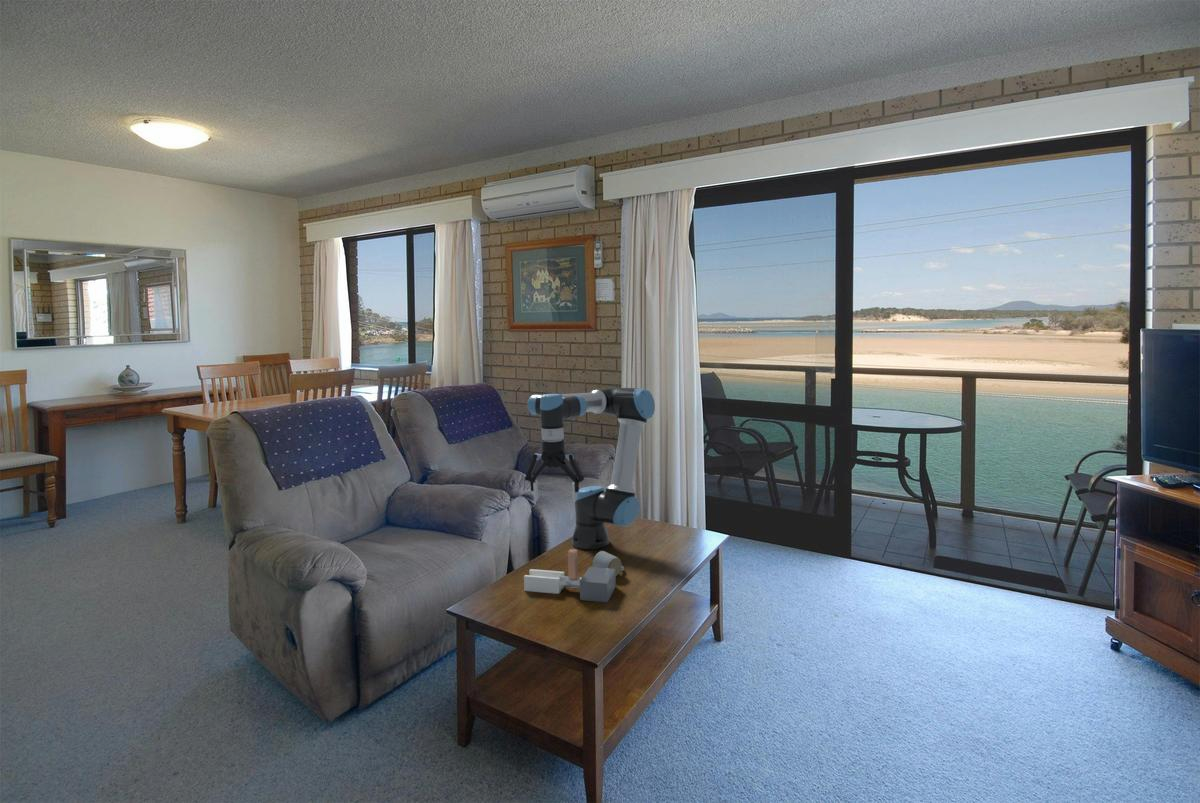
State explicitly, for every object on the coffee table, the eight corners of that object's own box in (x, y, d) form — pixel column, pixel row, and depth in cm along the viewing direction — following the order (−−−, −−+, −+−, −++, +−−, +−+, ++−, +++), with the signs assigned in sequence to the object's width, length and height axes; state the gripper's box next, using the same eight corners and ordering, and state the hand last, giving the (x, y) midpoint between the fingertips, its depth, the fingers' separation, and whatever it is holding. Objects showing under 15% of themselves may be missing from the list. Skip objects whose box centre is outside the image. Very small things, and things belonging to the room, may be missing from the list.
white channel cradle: (531, 583, 210) (530, 569, 209) (564, 586, 207) (564, 571, 206) (524, 590, 204) (523, 576, 203) (558, 593, 201) (558, 579, 200)
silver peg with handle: (560, 583, 206) (559, 548, 204) (606, 587, 202) (606, 551, 200) (557, 587, 202) (556, 551, 201) (604, 592, 199) (603, 555, 197)
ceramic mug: (609, 580, 211) (609, 559, 210) (592, 574, 216) (592, 553, 216) (629, 572, 218) (629, 551, 218) (612, 566, 224) (612, 546, 223)
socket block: (589, 584, 208) (589, 566, 207) (615, 586, 206) (615, 568, 205) (580, 599, 196) (579, 581, 195) (607, 602, 194) (607, 583, 193)
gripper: (514, 441, 205) (516, 503, 208) (586, 442, 201) (588, 505, 203) (521, 437, 213) (523, 496, 215) (591, 437, 208) (593, 498, 211)
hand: (555, 500), depth 209 cm, fingers open, 13 cm apart
